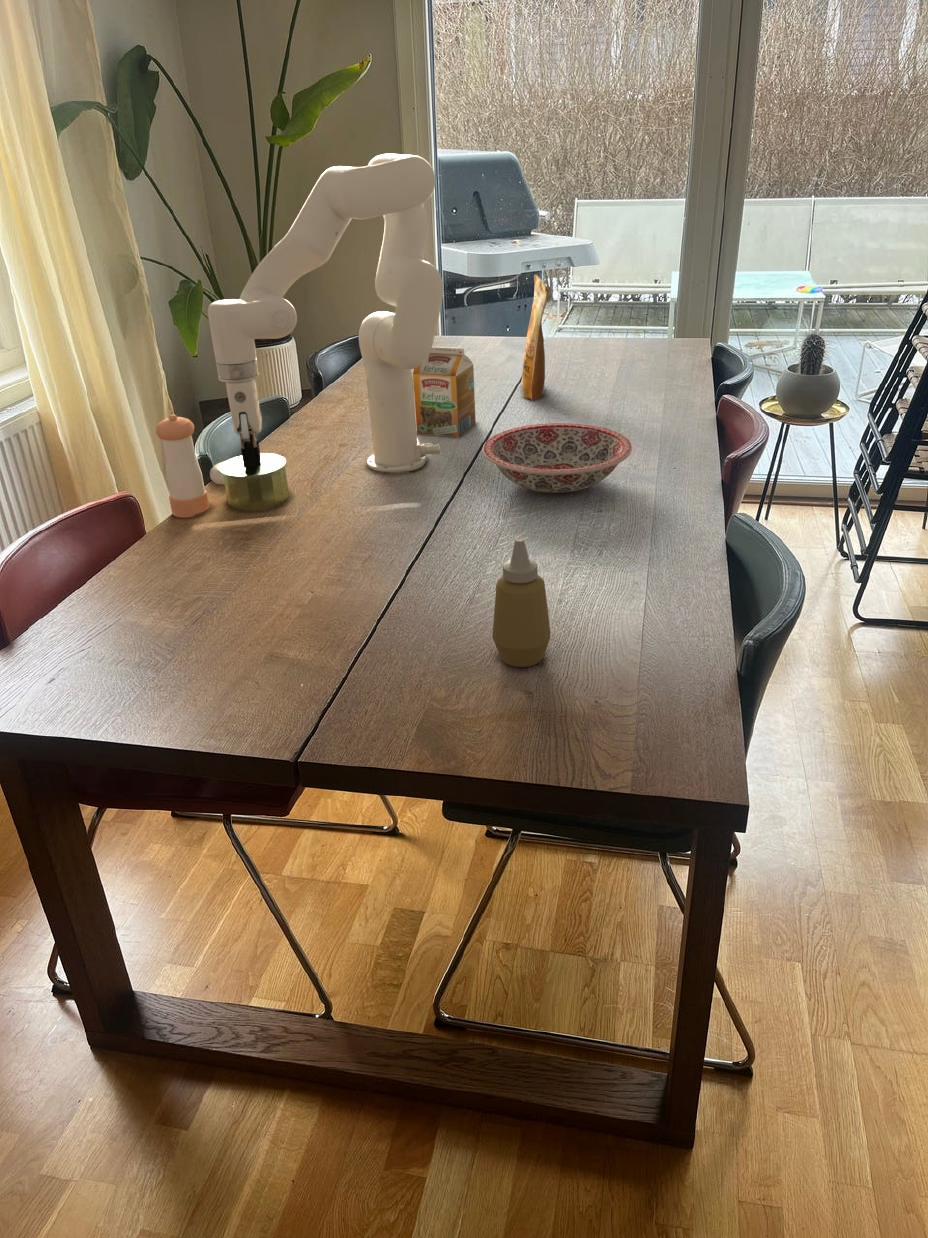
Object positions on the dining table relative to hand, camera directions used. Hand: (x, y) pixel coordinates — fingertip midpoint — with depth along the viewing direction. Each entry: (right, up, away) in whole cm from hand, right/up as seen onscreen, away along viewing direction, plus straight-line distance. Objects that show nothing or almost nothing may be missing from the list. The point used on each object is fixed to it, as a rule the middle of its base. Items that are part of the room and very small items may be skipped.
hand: (252, 462), depth 186 cm
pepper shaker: (-12, -9, +1) cm, 15 cm away
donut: (-7, -1, +15) cm, 16 cm away
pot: (0, -7, +4) cm, 8 cm away
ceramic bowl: (+60, -4, +4) cm, 60 cm away
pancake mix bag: (+60, +29, +63) cm, 91 cm away
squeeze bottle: (+49, -36, -53) cm, 81 cm away
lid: (0, -1, 0) cm, 1 cm away
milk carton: (+37, +14, +39) cm, 56 cm away
